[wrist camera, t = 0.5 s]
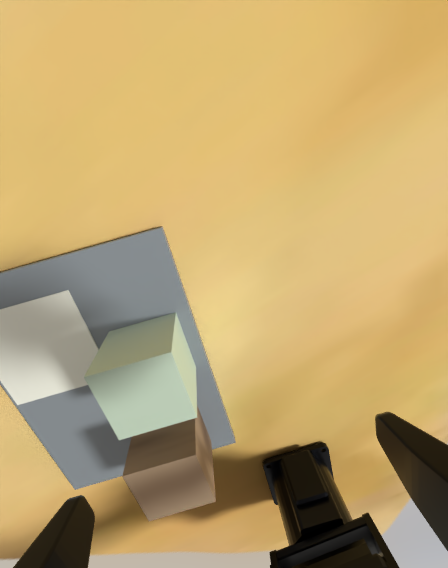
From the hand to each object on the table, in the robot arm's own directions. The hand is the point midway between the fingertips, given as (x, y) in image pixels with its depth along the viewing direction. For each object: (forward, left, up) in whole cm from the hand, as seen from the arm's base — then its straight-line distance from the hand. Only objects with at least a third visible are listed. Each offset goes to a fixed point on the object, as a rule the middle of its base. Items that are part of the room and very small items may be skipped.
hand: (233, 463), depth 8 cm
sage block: (-3, +5, -13) cm, 14 cm away
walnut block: (-11, +6, -13) cm, 18 cm away
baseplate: (-4, +9, -13) cm, 16 cm away
